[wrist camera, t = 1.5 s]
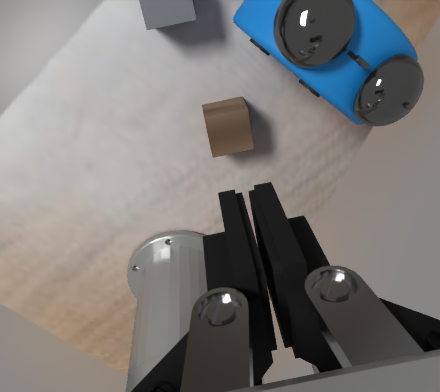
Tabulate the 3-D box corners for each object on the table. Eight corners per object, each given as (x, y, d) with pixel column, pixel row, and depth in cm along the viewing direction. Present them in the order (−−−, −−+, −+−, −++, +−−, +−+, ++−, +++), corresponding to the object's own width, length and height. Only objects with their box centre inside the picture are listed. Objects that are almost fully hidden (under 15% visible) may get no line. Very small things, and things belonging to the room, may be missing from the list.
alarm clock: (369, 47, 37) (472, 87, 24) (324, 99, 39) (396, 162, 26) (265, -51, 32) (324, -67, 19) (220, 15, 34) (246, 41, 21)
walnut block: (247, 133, 40) (254, 148, 37) (209, 141, 40) (212, 157, 37) (241, 96, 38) (247, 108, 35) (201, 104, 38) (204, 117, 35)
